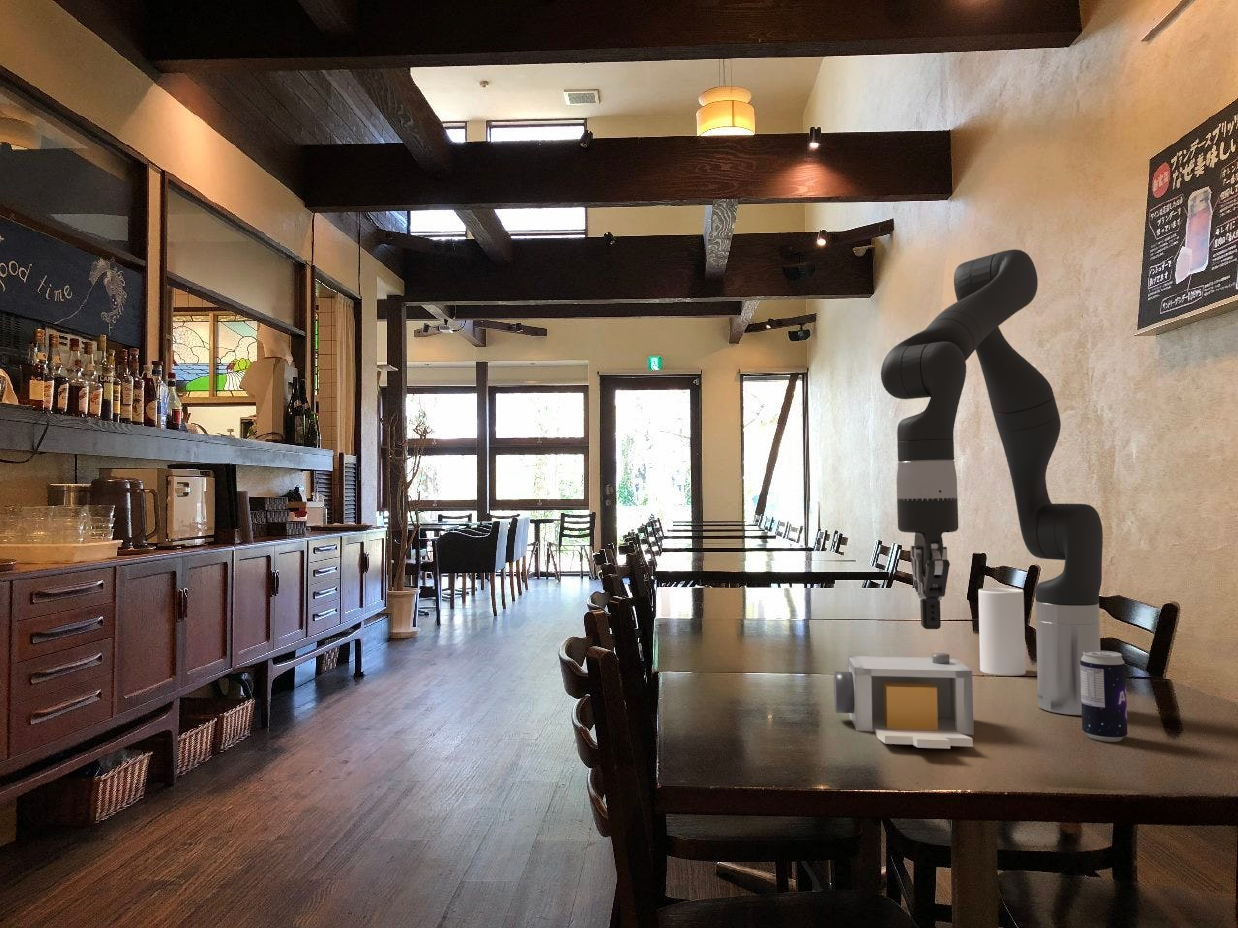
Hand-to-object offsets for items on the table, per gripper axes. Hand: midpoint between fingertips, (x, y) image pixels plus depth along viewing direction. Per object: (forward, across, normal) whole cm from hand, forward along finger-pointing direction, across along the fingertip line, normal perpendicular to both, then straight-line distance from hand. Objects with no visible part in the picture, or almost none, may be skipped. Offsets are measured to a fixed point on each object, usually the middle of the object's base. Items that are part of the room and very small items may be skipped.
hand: (930, 627), depth 115 cm
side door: (+16, +9, +1) cm, 19 cm away
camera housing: (+17, +15, +2) cm, 23 cm away
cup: (+18, +63, -26) cm, 71 cm away
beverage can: (+18, +15, -26) cm, 35 cm away
